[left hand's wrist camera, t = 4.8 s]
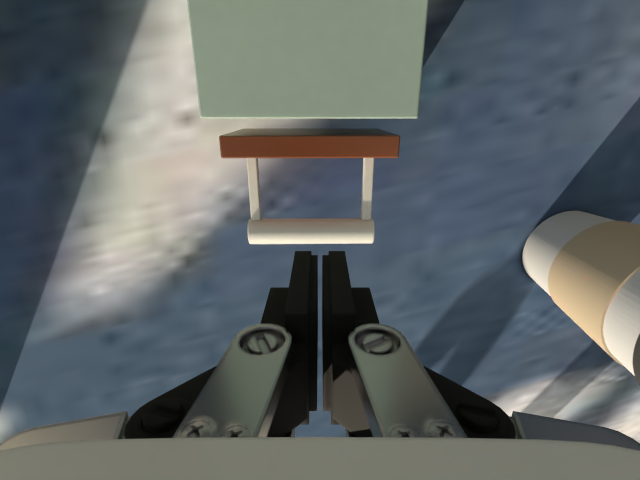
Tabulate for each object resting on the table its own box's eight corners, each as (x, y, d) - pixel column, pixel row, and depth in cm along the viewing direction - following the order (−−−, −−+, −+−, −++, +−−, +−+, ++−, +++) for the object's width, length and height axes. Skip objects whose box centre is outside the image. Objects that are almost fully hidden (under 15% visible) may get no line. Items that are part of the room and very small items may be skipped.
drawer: (373, 225, 28) (391, 259, 22) (249, 225, 28) (230, 260, 22) (395, -179, 20) (435, -317, 13) (219, -181, 20) (174, -322, 13)
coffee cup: (634, 255, 30) (910, 382, 16) (539, 313, 32) (713, 472, 18) (590, 174, 28) (873, 241, 14) (490, 242, 30) (648, 363, 16)
